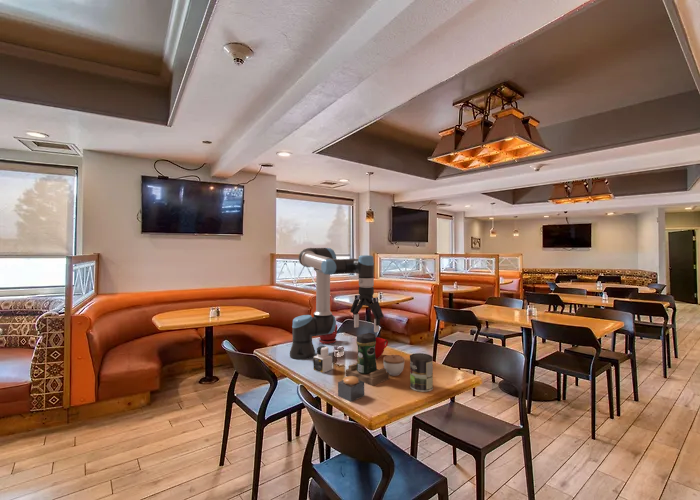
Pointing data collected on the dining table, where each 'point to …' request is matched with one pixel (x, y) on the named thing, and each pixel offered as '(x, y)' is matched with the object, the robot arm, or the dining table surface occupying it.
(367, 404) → the dining table surface
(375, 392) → the dining table surface
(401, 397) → the dining table surface
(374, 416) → the dining table surface
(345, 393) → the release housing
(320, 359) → the medicine bottle
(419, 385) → the coffee can
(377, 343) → the ceramic cup
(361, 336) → the coffee jar
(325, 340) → the plant pot
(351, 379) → the release button
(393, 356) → the lidded jar
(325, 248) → the robot arm
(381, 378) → the cradle rack
